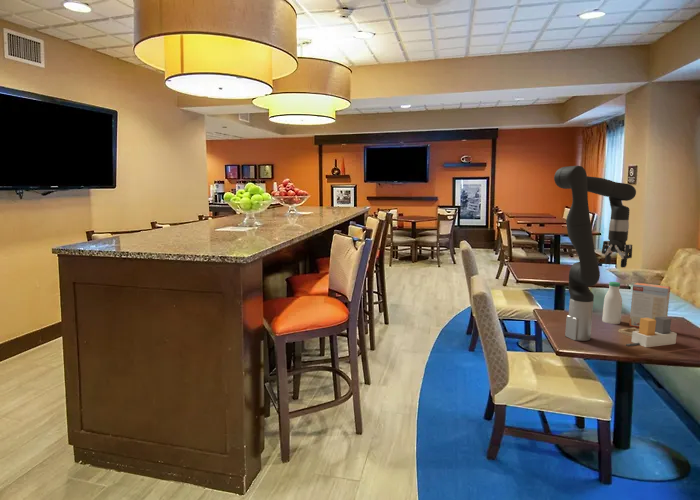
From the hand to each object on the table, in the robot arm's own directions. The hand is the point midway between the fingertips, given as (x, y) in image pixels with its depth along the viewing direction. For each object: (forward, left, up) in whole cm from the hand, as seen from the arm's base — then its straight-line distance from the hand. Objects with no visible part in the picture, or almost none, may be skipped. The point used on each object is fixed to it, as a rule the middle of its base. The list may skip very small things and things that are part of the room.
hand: (615, 265), depth 211 cm
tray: (+7, -8, -31) cm, 32 cm away
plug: (+1, -18, -30) cm, 35 cm away
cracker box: (+21, -2, -31) cm, 37 cm away
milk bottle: (+12, +10, -31) cm, 34 cm away
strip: (+1, -19, -31) cm, 36 cm away
